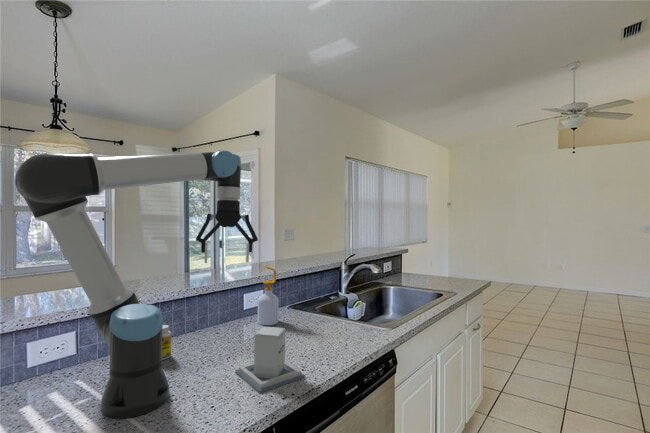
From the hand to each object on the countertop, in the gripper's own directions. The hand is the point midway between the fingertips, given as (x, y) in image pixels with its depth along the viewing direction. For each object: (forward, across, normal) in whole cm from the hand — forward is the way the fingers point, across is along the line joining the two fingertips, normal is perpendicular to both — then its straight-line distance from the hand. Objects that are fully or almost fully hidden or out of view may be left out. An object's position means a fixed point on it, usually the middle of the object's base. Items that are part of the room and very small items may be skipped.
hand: (226, 262), depth 119 cm
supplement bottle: (+32, +20, -3) cm, 37 cm away
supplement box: (+31, -12, +20) cm, 39 cm away
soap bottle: (+31, -20, -28) cm, 46 cm away
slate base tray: (+31, -12, +20) cm, 39 cm away
